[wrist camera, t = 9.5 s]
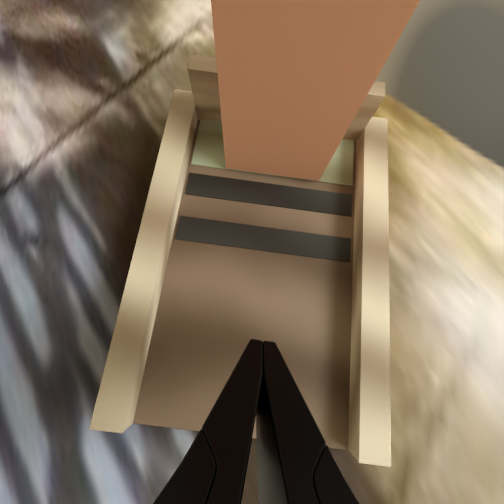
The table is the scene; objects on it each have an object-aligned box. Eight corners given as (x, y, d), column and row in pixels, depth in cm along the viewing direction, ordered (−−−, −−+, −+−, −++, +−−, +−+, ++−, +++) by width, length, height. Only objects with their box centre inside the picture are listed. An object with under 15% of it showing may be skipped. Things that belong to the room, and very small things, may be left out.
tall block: (318, 181, 17) (487, -120, 5) (225, 168, 17) (196, -164, 5) (321, 141, 18) (473, -196, 6) (232, 128, 18) (219, -235, 6)
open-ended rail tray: (366, 443, 15) (427, 501, 10) (113, 411, 15) (52, 455, 10) (369, 143, 20) (411, 85, 15) (182, 117, 20) (164, 51, 15)
